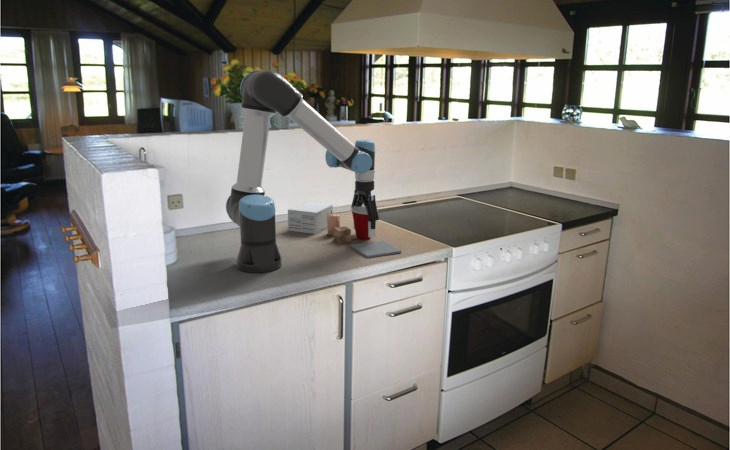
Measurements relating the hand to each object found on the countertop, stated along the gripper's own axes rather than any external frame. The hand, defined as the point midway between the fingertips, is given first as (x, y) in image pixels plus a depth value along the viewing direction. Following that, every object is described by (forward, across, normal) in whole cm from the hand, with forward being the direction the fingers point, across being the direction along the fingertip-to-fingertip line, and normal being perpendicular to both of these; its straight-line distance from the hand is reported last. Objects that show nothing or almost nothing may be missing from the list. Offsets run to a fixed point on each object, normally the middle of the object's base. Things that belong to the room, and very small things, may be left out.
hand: (364, 232), depth 220 cm
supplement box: (+3, +23, +14) cm, 27 cm away
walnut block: (+2, 0, +10) cm, 10 cm away
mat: (+2, -16, +3) cm, 16 cm away
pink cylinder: (+2, +10, +9) cm, 14 cm away
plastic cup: (+2, 0, 0) cm, 2 cm away
